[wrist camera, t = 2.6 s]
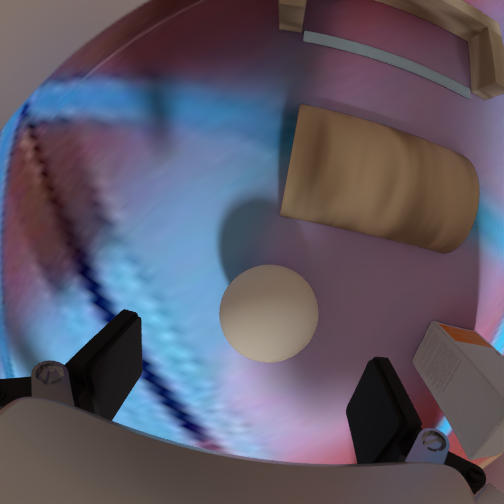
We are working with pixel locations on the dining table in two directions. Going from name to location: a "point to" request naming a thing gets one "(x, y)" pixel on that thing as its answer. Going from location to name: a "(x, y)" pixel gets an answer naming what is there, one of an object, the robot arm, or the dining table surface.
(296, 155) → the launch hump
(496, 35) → the rail
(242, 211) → the dining table surface
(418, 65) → the tape line
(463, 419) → the skincare box
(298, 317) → the ball
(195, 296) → the dining table surface
